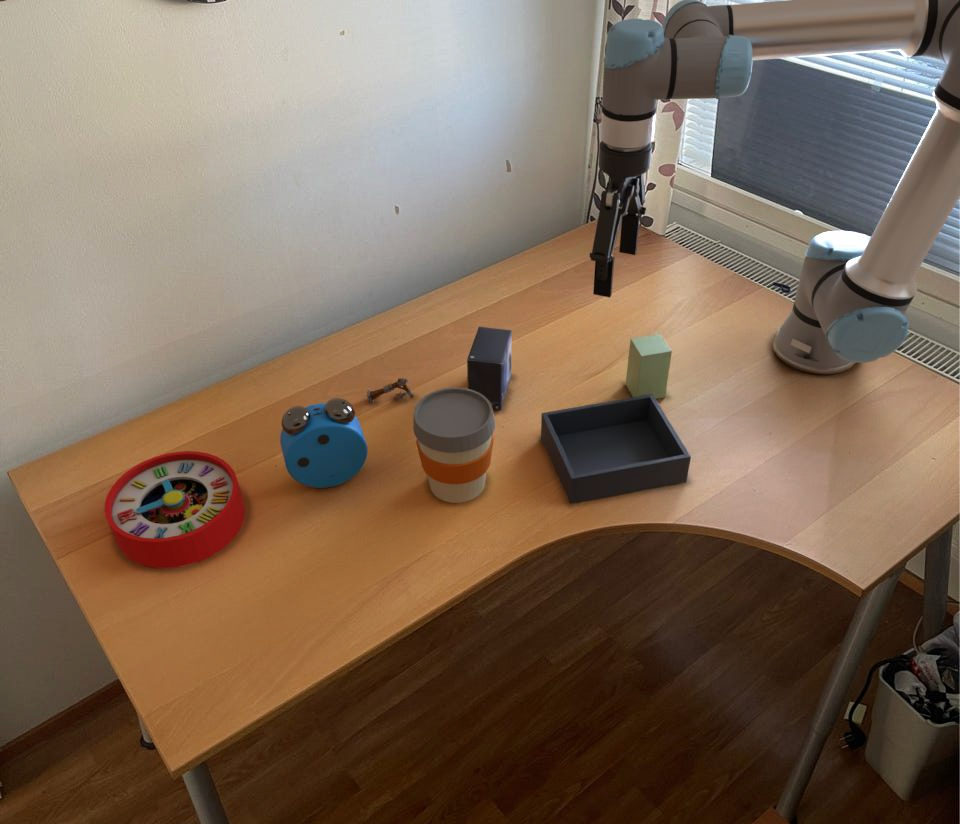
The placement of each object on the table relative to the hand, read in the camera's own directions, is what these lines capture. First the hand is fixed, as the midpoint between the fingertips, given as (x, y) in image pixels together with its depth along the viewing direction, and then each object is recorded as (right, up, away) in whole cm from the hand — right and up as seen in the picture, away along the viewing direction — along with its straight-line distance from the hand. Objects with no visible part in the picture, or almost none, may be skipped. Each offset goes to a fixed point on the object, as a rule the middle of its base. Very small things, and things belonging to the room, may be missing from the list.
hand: (615, 273), depth 144 cm
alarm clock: (-46, -33, +5) cm, 57 cm away
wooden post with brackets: (-38, -18, +19) cm, 46 cm away
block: (+8, -16, +19) cm, 26 cm away
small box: (-20, -17, +20) cm, 33 cm away
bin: (0, -29, +6) cm, 30 cm away
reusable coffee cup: (-25, -34, +3) cm, 42 cm away
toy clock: (-69, -40, -1) cm, 79 cm away
